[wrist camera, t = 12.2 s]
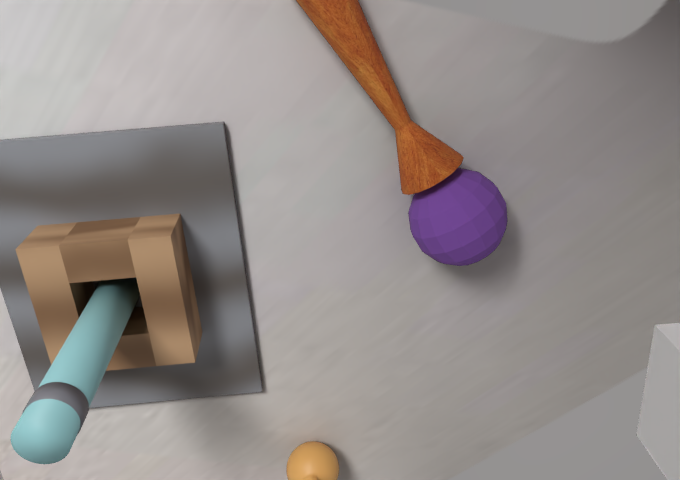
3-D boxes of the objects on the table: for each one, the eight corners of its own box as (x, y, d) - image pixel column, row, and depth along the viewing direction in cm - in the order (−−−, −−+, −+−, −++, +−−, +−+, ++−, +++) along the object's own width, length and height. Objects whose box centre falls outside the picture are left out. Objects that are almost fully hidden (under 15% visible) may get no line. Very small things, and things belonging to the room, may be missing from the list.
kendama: (365, -79, 31) (540, 240, 38) (343, -56, 37) (498, 217, 43) (265, -12, 31) (457, 296, 38) (258, 1, 37) (426, 267, 43)
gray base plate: (-42, 143, 38) (-78, 164, 35) (223, 121, 39) (216, 140, 35) (44, 407, 47) (23, 446, 43) (262, 386, 47) (259, 424, 43)
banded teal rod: (98, 266, 42) (2, 421, 28) (139, 263, 42) (63, 415, 28) (106, 302, 43) (18, 467, 29) (147, 298, 43) (78, 462, 29)
